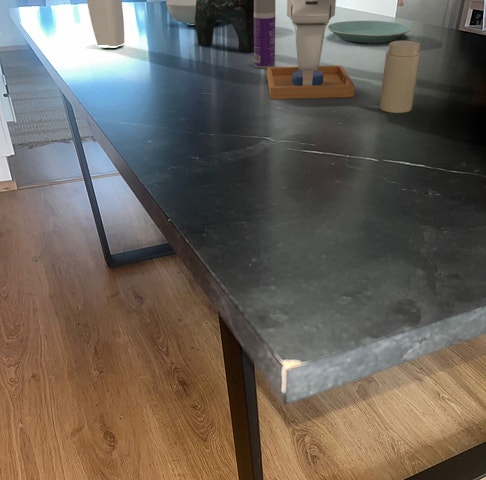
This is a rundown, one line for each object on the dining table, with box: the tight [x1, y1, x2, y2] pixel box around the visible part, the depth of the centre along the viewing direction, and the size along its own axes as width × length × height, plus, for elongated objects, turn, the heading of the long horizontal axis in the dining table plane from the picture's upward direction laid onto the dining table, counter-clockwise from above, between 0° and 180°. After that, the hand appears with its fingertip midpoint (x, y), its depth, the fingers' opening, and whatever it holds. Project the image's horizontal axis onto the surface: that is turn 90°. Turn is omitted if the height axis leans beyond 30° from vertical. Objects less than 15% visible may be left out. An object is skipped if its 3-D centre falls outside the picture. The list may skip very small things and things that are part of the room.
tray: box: [266, 65, 355, 100], centre depth 104 cm, size 16×16×2 cm
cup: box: [86, 0, 125, 46], centre depth 136 cm, size 7×7×15 cm
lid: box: [292, 70, 323, 86], centre depth 104 cm, size 6×6×2 cm
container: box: [253, 0, 276, 70], centre depth 115 cm, size 5×5×15 cm
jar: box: [378, 40, 422, 114], centre depth 90 cm, size 6×6×10 cm
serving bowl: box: [165, 0, 222, 24], centre depth 165 cm, size 21×21×7 cm
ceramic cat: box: [194, 0, 254, 54], centre depth 130 cm, size 20×6×20 cm, turn 51°
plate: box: [326, 20, 412, 44], centre depth 142 cm, size 22×22×3 cm
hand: (307, 83), depth 104 cm, fingers closed on lid, tray, 6 cm apart
